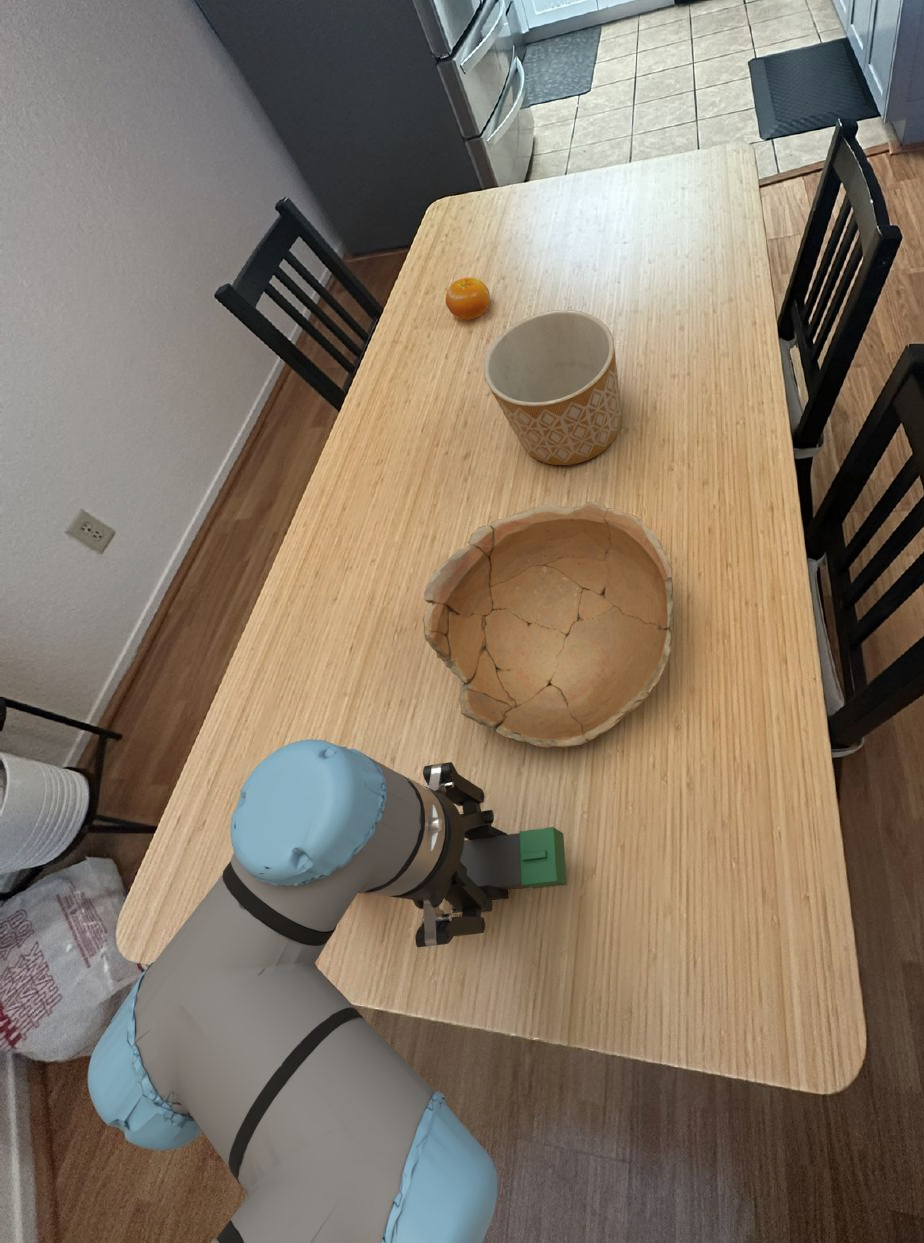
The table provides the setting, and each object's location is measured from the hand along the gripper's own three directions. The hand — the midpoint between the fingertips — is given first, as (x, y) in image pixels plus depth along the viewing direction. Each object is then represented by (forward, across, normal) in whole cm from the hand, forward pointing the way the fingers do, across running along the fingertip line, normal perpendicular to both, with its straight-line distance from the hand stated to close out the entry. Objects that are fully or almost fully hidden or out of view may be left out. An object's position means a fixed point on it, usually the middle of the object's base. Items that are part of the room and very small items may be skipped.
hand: (495, 866), depth 66 cm
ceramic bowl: (+5, +26, -9) cm, 27 cm away
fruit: (+5, +97, +4) cm, 97 cm away
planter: (+5, +62, -12) cm, 63 cm away
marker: (0, 0, 0) cm, 0 cm away
